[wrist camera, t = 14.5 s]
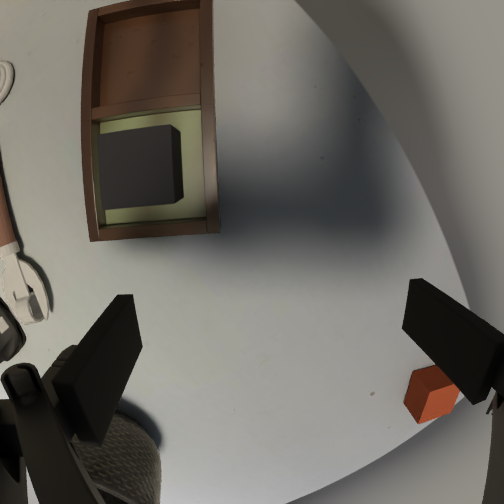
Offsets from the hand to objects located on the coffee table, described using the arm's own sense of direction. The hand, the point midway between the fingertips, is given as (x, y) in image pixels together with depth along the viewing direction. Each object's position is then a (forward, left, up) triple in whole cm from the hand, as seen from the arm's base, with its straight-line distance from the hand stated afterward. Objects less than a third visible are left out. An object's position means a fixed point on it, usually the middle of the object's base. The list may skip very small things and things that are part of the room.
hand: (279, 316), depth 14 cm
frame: (+8, -12, -14) cm, 20 cm away
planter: (+18, +23, -14) cm, 33 cm away
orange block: (-22, +20, -14) cm, 33 cm away
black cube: (+8, -7, -13) cm, 17 cm away
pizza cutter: (+25, -3, -14) cm, 29 cm away
